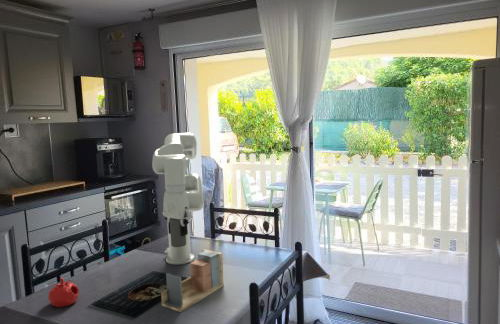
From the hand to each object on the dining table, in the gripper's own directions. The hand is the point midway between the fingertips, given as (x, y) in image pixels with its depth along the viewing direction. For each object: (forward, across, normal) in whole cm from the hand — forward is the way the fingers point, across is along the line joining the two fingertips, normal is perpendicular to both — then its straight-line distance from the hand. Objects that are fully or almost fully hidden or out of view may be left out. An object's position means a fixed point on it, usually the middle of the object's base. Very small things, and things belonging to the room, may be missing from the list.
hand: (178, 233), depth 149 cm
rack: (+19, +14, -7) cm, 25 cm away
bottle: (+5, 0, 0) cm, 5 cm away
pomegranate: (+19, -23, -35) cm, 46 cm away
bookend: (+18, +14, -18) cm, 29 cm away
